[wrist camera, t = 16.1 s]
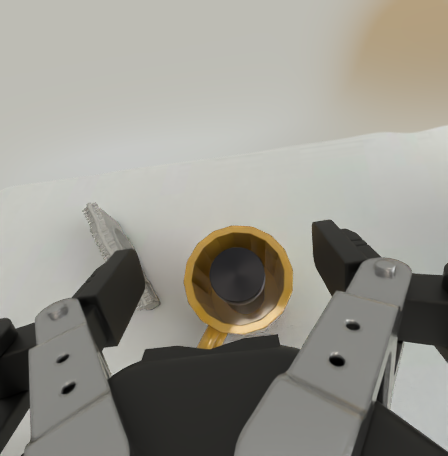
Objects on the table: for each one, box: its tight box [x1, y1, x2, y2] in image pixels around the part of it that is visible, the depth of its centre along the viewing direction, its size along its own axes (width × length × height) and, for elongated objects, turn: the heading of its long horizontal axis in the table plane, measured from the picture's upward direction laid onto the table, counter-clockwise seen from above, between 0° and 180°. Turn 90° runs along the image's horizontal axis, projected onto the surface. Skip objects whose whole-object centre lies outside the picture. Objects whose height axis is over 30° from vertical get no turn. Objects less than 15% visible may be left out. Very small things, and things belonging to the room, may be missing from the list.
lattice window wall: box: [82, 203, 160, 311], centre depth 28 cm, size 12×2×6 cm, turn 33°
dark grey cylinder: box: [209, 247, 265, 314], centre depth 23 cm, size 4×4×10 cm
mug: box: [184, 226, 293, 349], centre depth 23 cm, size 11×8×9 cm
